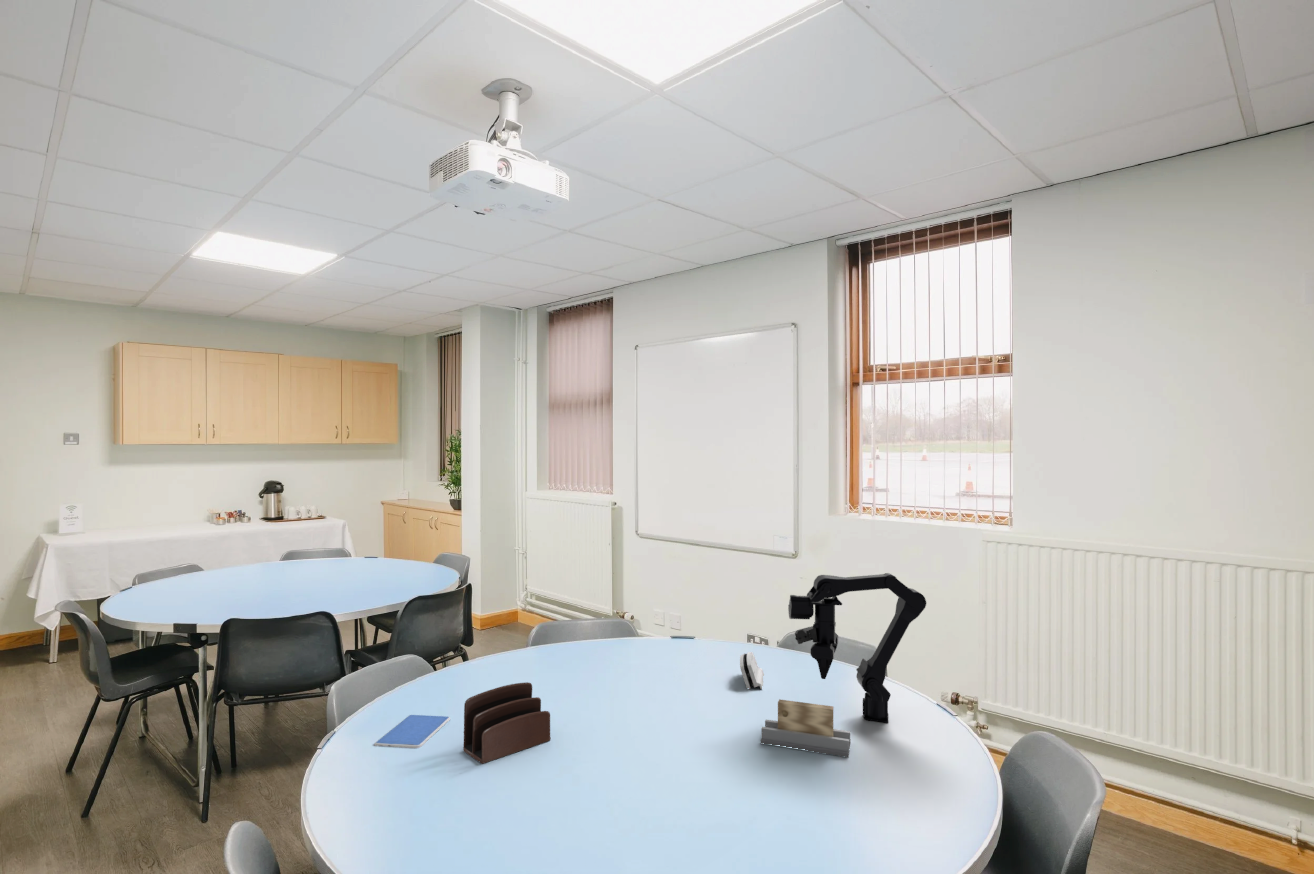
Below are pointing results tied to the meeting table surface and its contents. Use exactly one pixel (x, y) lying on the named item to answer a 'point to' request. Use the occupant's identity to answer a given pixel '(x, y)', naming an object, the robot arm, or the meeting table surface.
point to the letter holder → (504, 722)
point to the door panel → (805, 717)
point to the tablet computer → (413, 731)
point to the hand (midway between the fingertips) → (824, 673)
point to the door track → (806, 739)
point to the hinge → (751, 671)
